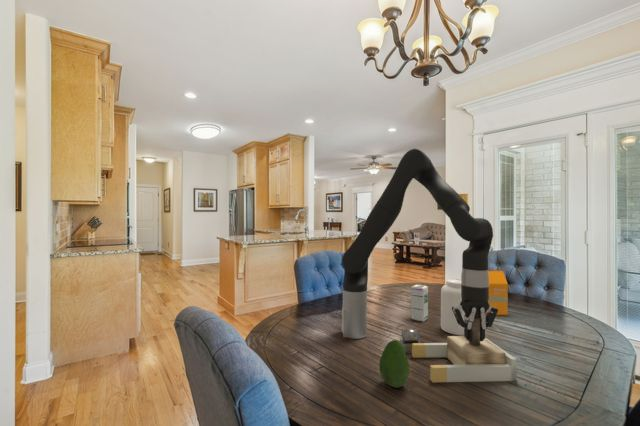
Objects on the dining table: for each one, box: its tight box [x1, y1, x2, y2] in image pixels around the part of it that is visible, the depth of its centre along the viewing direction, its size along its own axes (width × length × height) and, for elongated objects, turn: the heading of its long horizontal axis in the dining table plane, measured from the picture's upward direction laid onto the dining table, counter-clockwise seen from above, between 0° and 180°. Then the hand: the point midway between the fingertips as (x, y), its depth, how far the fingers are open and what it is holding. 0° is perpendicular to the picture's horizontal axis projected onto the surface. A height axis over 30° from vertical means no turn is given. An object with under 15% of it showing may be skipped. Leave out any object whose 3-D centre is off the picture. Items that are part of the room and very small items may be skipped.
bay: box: [411, 337, 518, 383], centre depth 93 cm, size 24×16×6 cm, turn 93°
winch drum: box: [399, 328, 422, 354], centre depth 104 cm, size 6×4×7 cm, turn 93°
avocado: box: [378, 339, 411, 389], centre depth 82 cm, size 8×8×12 cm
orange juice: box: [485, 269, 509, 316], centre depth 146 cm, size 8×9×20 cm
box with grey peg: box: [446, 317, 506, 365], centre depth 93 cm, size 11×12×15 cm
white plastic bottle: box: [440, 278, 464, 336], centre depth 122 cm, size 12×12×20 cm
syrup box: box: [410, 284, 429, 322], centre depth 136 cm, size 6×6×14 cm
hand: (474, 340), depth 93 cm, fingers closed on box with grey peg, 3 cm apart
